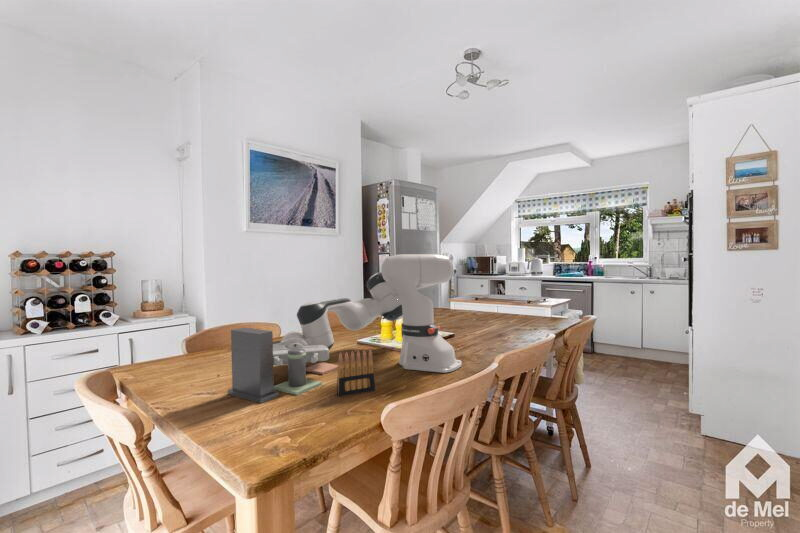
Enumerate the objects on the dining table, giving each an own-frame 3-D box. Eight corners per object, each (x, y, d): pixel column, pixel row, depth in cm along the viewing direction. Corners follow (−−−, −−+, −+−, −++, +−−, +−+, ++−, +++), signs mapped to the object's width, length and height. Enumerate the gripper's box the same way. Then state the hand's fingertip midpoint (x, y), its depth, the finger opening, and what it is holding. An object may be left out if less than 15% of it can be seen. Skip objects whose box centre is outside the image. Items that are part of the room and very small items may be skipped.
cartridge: (310, 383, 116) (309, 349, 115) (297, 388, 111) (296, 353, 111) (297, 380, 118) (296, 348, 118) (284, 385, 114) (283, 351, 114)
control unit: (278, 396, 108) (277, 331, 107) (260, 403, 102) (259, 335, 102) (246, 387, 115) (244, 326, 114) (227, 394, 110) (226, 330, 109)
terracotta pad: (340, 367, 134) (340, 365, 134) (322, 374, 126) (322, 372, 126) (321, 364, 139) (321, 362, 139) (302, 370, 131) (302, 368, 131)
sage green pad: (321, 384, 117) (321, 382, 117) (297, 395, 108) (296, 392, 108) (298, 379, 122) (297, 377, 122) (272, 389, 113) (272, 386, 113)
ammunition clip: (338, 396, 107) (337, 353, 106) (336, 394, 108) (336, 352, 108) (375, 390, 111) (374, 349, 111) (372, 388, 113) (372, 347, 113)
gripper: (327, 357, 130) (332, 368, 117) (262, 363, 124) (261, 376, 111) (326, 338, 130) (332, 348, 117) (262, 343, 124) (260, 354, 111)
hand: (297, 361), depth 114 cm, fingers open, 8 cm apart
